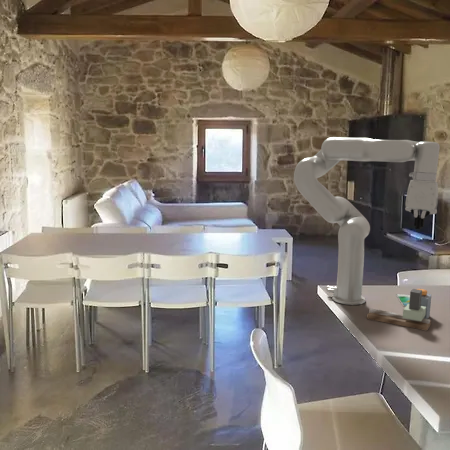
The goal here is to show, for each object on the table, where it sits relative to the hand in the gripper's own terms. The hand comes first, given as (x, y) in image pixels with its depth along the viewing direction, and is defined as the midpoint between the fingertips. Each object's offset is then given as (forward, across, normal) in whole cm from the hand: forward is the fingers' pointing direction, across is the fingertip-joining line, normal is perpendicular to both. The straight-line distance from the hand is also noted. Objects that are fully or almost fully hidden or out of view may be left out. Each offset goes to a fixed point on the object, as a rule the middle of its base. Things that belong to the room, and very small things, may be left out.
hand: (418, 228), depth 189 cm
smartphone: (+31, -3, +10) cm, 33 cm away
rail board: (+30, 0, -15) cm, 34 cm away
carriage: (+28, +5, -15) cm, 32 cm away
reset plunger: (+26, +5, -6) cm, 27 cm away
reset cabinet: (+30, +5, -6) cm, 31 cm away
